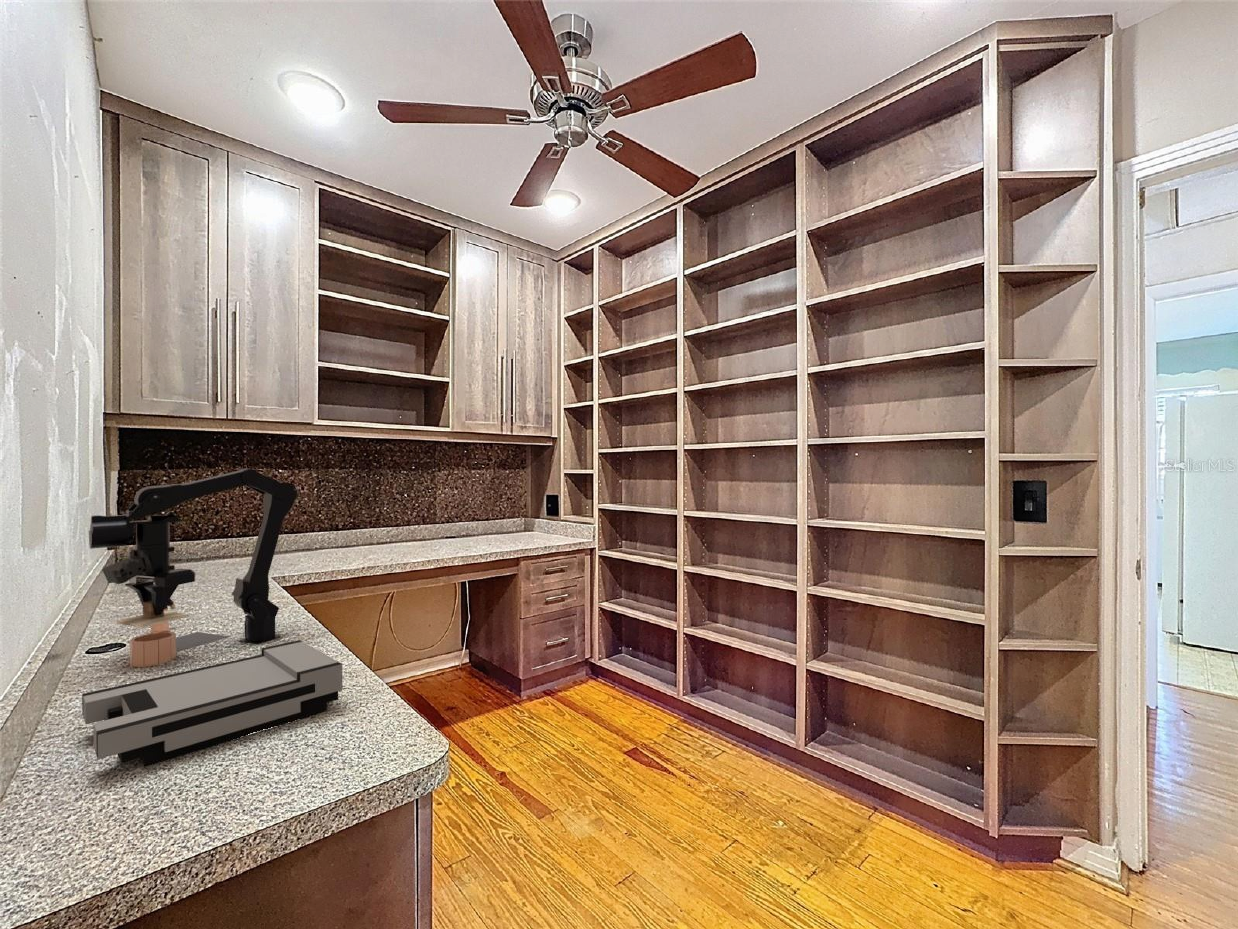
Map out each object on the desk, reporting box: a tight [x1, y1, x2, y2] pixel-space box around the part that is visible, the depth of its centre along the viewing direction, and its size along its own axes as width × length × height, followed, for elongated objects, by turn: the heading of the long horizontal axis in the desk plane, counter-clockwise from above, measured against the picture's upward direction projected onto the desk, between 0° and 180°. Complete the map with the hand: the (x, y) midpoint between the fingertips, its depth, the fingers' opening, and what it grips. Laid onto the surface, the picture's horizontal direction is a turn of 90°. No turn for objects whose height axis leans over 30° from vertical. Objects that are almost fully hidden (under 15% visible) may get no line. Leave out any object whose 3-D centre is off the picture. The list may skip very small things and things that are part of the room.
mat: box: [176, 631, 231, 652], centre depth 139 cm, size 12×12×1 cm
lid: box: [115, 601, 190, 628], centre depth 125 cm, size 9×9×4 cm
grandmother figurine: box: [150, 598, 176, 633], centre depth 147 cm, size 8×4×13 cm, turn 179°
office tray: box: [81, 639, 343, 768], centre depth 96 cm, size 21×32×8 cm, turn 138°
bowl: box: [129, 631, 177, 668], centre depth 125 cm, size 8×8×6 cm
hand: (153, 614), depth 125 cm, fingers closed on lid, 3 cm apart
